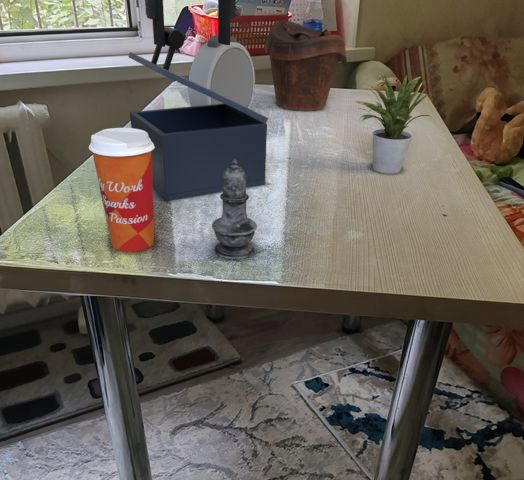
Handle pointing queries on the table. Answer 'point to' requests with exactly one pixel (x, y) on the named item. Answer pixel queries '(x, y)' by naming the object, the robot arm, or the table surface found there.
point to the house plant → (392, 125)
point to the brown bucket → (303, 64)
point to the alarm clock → (222, 73)
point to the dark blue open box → (202, 147)
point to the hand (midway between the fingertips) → (192, 44)
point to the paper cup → (126, 185)
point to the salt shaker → (234, 217)
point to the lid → (175, 42)
